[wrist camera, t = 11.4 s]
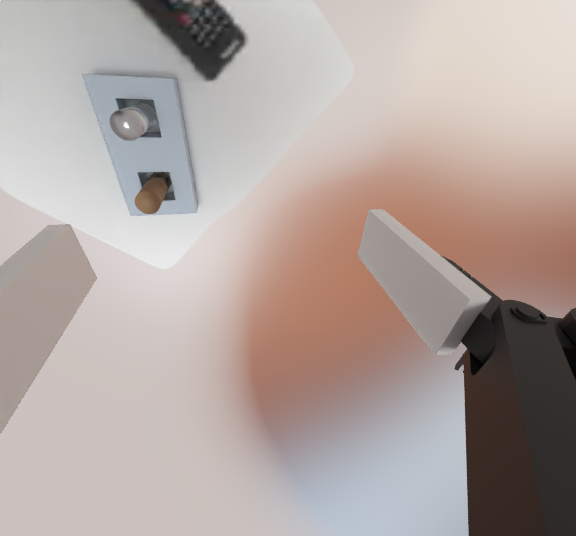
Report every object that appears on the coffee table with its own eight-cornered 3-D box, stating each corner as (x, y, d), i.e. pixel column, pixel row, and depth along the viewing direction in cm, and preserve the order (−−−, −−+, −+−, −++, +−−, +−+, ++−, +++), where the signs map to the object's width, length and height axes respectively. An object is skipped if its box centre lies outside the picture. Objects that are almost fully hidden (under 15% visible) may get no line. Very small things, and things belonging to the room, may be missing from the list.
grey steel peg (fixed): (130, 102, 35) (105, 110, 27) (154, 103, 36) (135, 110, 28) (137, 127, 37) (115, 140, 29) (159, 127, 38) (143, 141, 30)
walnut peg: (153, 189, 42) (138, 214, 35) (148, 171, 41) (131, 193, 33) (173, 188, 43) (162, 213, 35) (168, 170, 41) (156, 191, 33)
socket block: (93, 74, 33) (82, 73, 30) (176, 78, 35) (172, 78, 32) (136, 207, 43) (130, 215, 41) (198, 204, 45) (196, 212, 43)
